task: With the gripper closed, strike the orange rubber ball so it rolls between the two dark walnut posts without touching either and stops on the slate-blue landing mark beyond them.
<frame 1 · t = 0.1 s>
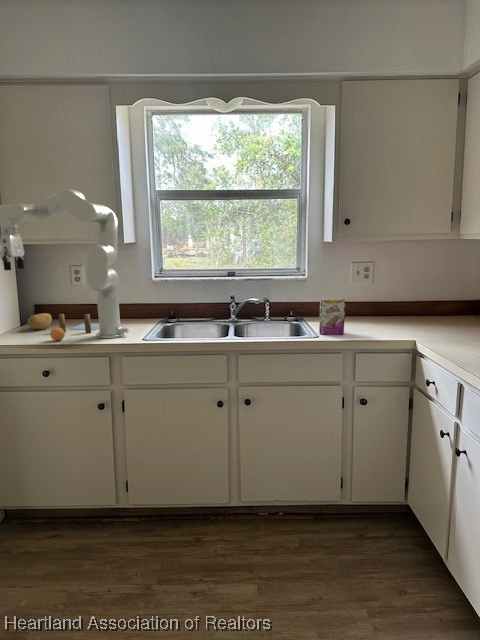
hand: (14, 269, 204), 31 cm above the countertop, tool pointing down, fingers open, 9 cm apart
ball: (57, 333, 196), on the countertop
candy bar box: (331, 334, 203), on the countertop
potato: (41, 329, 222), on the countertop
right post: (88, 332, 211), on the countertop
left post: (63, 332, 213), on the countertop
landing mark: (88, 326, 226), on the countertop
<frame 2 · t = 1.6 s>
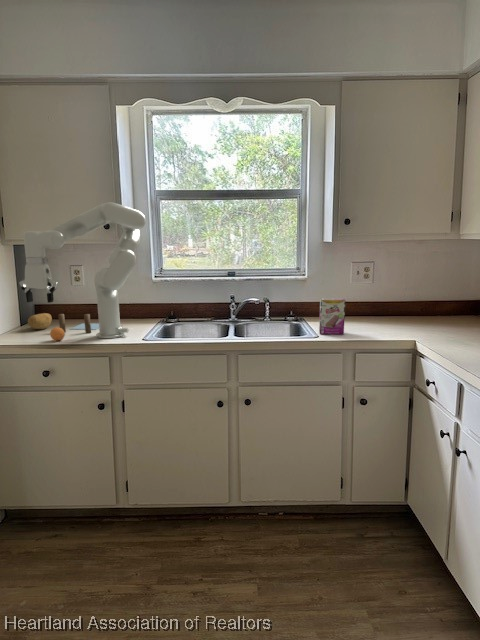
hand: (40, 302, 185), 19 cm above the countertop, tool pointing down, fingers open, 9 cm apart
nothing on the countertop moved.
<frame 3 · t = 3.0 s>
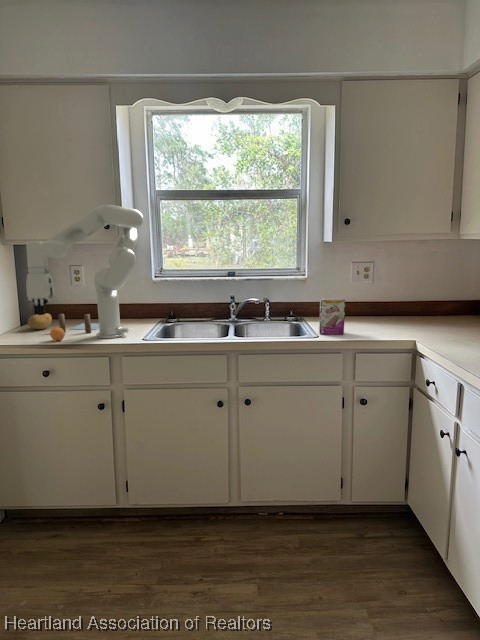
hand: (41, 314, 184), 14 cm above the countertop, tool pointing down, fingers closed
nothing on the countertop moved.
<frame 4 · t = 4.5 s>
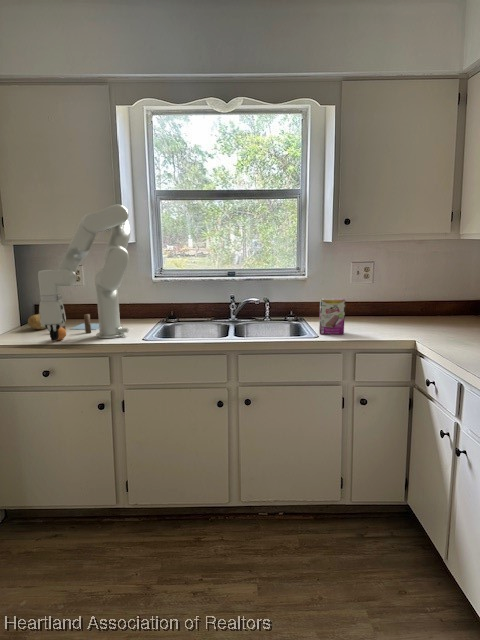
hand: (54, 339, 193), 1 cm above the countertop, tool pointing down, fingers closed
ball: (59, 333, 197), on the countertop
everything else where it was.
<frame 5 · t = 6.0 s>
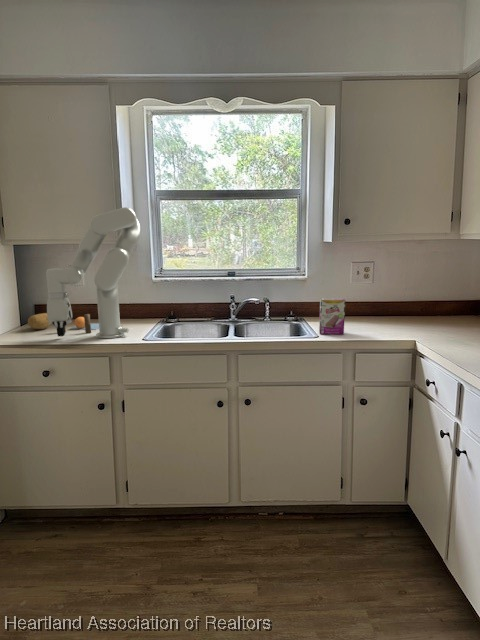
hand: (61, 335, 199), 1 cm above the countertop, tool pointing down, fingers closed
ball: (80, 322, 221), on the countertop
everything else where it was.
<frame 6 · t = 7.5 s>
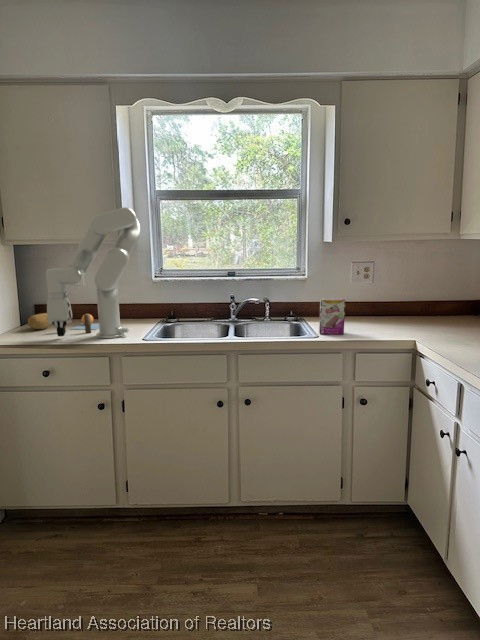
hand: (61, 335, 199), 1 cm above the countertop, tool pointing down, fingers closed
ball: (87, 319, 229), on the countertop
everything else where it was.
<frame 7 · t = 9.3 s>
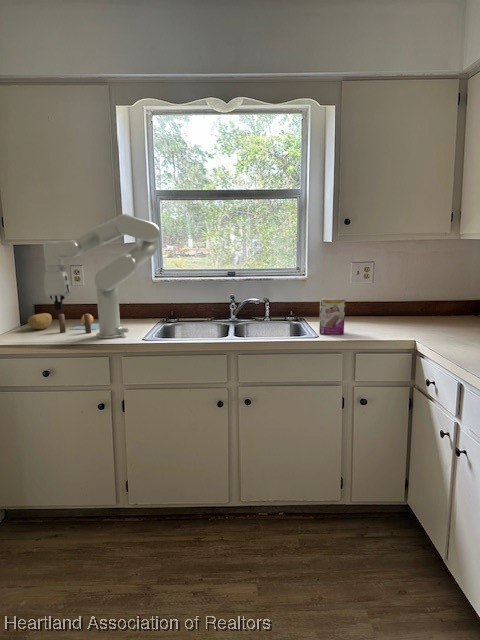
hand: (59, 310, 197), 13 cm above the countertop, tool pointing down, fingers closed
nothing on the countertop moved.
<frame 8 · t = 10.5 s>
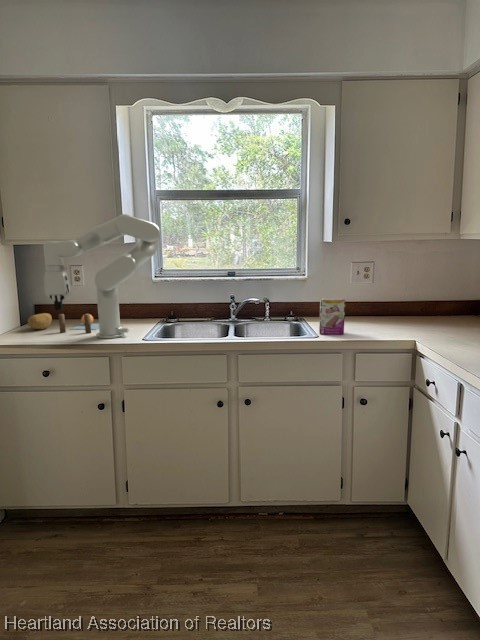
hand: (58, 309, 197), 13 cm above the countertop, tool pointing down, fingers closed
nothing on the countertop moved.
at the end: ball 4.6 cm from the landing mark (horizontally); ball never touched left post; ball never touched right post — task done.
